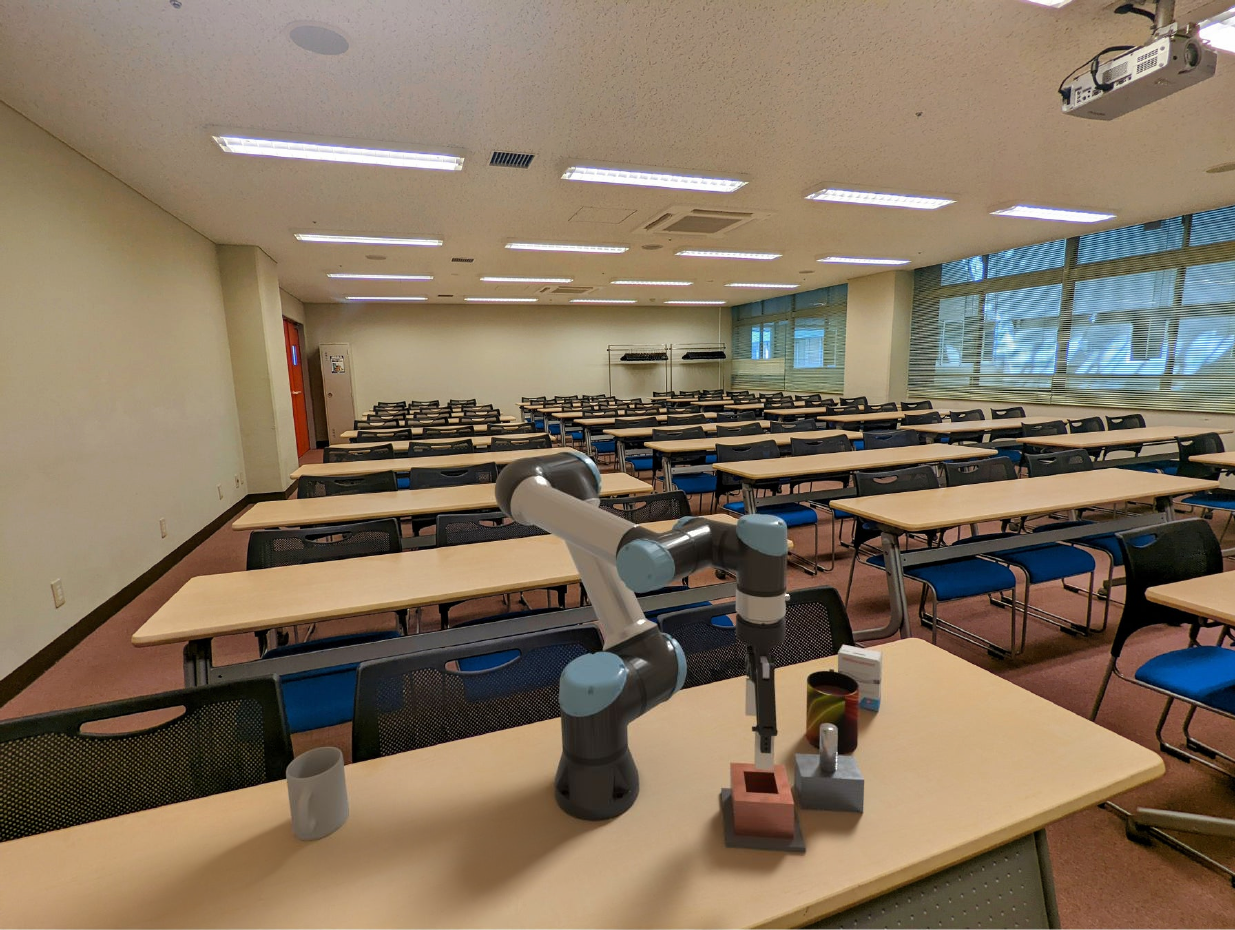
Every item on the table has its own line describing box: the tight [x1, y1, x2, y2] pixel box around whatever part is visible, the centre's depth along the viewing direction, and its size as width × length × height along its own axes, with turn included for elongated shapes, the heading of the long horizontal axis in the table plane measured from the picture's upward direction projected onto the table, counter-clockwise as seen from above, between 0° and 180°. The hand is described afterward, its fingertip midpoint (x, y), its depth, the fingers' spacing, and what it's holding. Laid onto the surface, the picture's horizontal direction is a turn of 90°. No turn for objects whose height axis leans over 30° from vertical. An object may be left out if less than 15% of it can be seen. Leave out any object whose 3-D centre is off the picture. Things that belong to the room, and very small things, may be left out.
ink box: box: [837, 644, 883, 712], centre depth 125 cm, size 8×5×12 cm, turn 58°
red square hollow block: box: [729, 762, 795, 839], centre depth 92 cm, size 9×9×6 cm
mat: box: [720, 787, 807, 853], centre depth 93 cm, size 12×12×1 cm
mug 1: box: [285, 746, 350, 842], centre depth 93 cm, size 12×8×11 cm
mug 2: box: [805, 668, 860, 755], centre depth 114 cm, size 10×14×12 cm
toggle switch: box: [793, 723, 865, 814], centre depth 96 cm, size 10×6×13 cm, turn 83°
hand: (758, 739), depth 91 cm, fingers open, 13 cm apart
